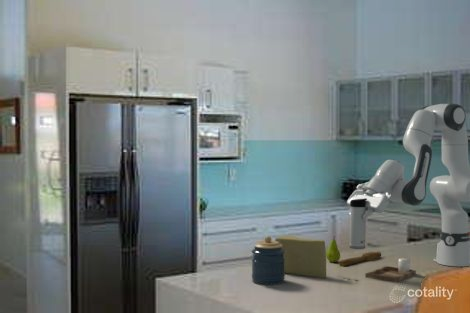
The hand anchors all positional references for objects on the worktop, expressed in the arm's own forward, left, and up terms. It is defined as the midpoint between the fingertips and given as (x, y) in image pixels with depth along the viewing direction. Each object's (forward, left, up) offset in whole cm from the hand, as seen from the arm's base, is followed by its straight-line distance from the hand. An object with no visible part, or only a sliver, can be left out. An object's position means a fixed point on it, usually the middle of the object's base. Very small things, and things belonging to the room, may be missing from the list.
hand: (356, 217), depth 243 cm
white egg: (-12, +15, -23) cm, 30 cm away
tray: (-6, +12, -24) cm, 28 cm away
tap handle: (-29, -13, -25) cm, 41 cm away
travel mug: (0, 0, -13) cm, 13 cm away
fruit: (-20, -23, -24) cm, 39 cm away
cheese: (+8, -20, -25) cm, 33 cm away
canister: (+28, -24, -24) cm, 44 cm away
